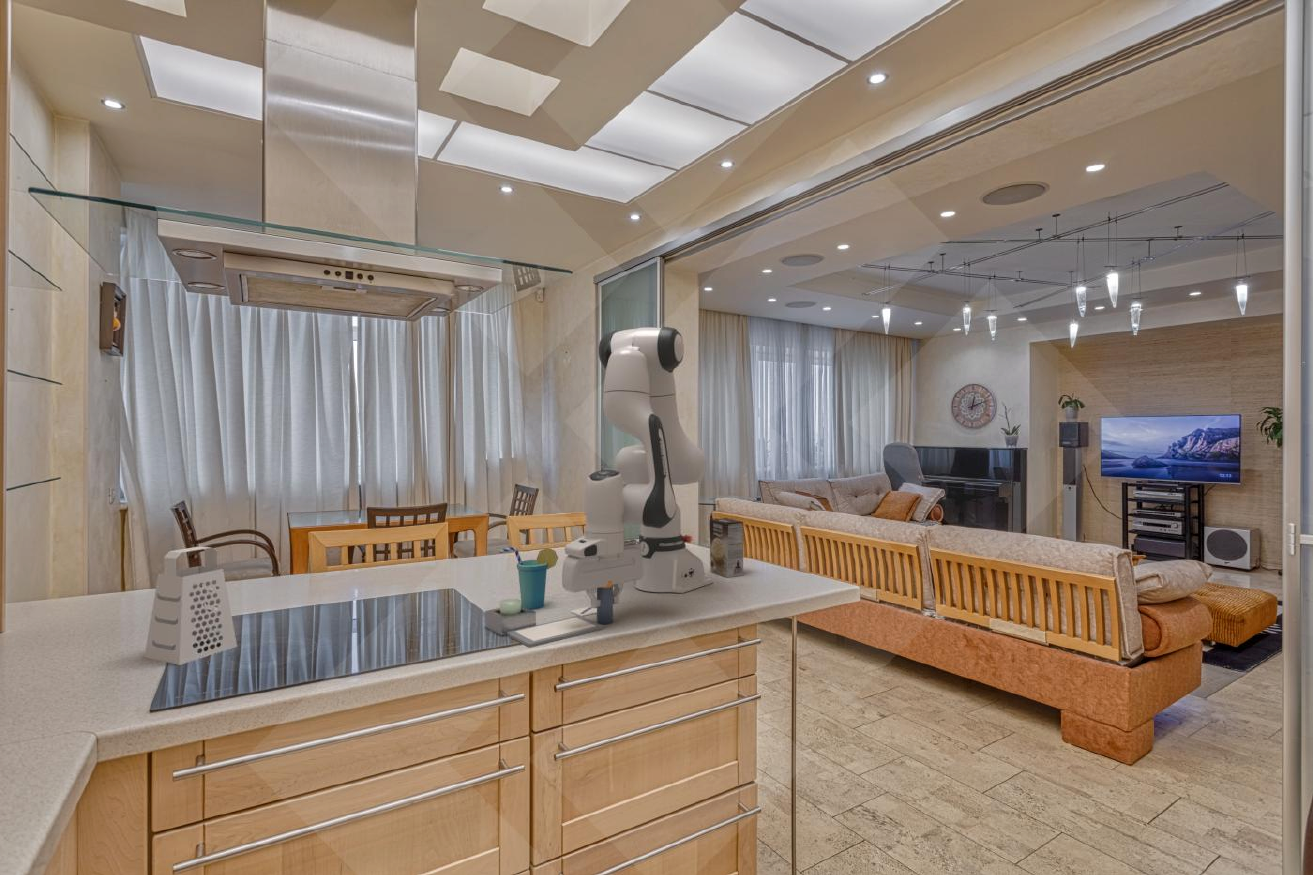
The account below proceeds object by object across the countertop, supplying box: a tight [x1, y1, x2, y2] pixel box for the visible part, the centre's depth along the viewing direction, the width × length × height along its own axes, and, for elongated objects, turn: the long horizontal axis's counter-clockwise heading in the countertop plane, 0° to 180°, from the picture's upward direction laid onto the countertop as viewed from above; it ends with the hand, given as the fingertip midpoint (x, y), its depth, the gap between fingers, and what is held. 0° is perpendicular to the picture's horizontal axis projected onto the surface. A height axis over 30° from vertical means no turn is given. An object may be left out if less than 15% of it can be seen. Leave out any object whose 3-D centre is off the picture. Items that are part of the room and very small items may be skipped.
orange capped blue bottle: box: [596, 581, 614, 625], centre depth 138 cm, size 4×4×9 cm
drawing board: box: [505, 615, 605, 648], centre depth 131 cm, size 18×10×1 cm, turn 130°
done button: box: [499, 598, 522, 616], centre depth 134 cm, size 4×4×4 cm
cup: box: [498, 546, 559, 610], centre depth 150 cm, size 14×8×15 cm, turn 111°
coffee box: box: [709, 517, 744, 578], centre depth 185 cm, size 9×6×16 cm
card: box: [569, 605, 597, 617], centre depth 146 cm, size 6×5×1 cm
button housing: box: [484, 605, 537, 636], centre depth 134 cm, size 8×8×4 cm
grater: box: [144, 546, 238, 666], centre depth 120 cm, size 10×10×20 cm
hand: (604, 605), depth 138 cm, fingers closed on orange capped blue bottle, 4 cm apart
